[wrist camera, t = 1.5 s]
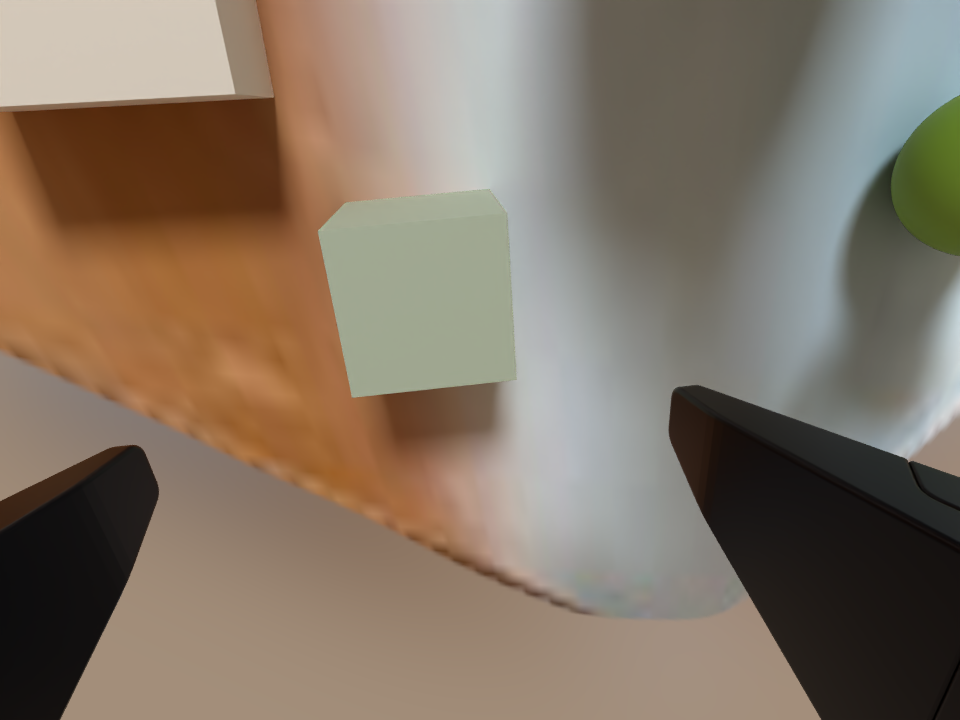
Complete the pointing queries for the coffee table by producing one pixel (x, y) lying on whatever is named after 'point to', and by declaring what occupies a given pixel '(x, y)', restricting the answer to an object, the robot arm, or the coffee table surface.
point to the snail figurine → (931, 180)
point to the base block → (129, 53)
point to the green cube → (421, 291)
